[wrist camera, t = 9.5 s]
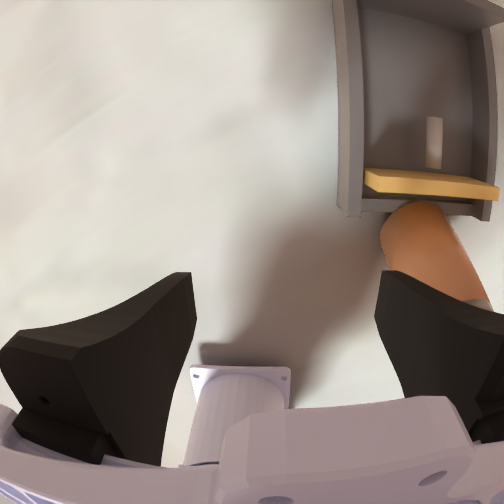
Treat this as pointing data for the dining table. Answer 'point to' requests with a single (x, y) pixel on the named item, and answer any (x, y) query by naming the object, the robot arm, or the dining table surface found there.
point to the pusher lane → (414, 96)
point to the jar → (431, 252)
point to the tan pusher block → (429, 174)
